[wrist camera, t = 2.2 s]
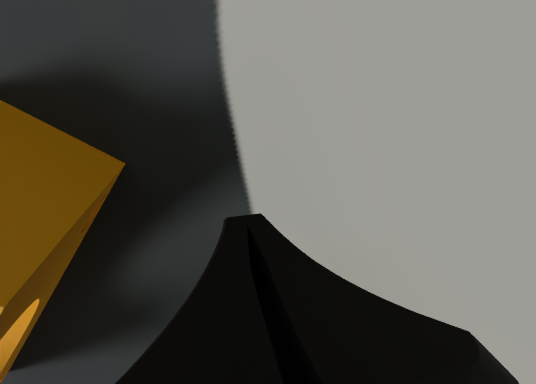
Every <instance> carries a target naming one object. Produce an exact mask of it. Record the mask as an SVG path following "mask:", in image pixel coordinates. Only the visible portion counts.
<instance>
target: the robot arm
mask: <svg viewBox="0 0 536 384" xmlns="http://www.w3.org/2000/svg"><path fill="white" fill-rule="evenodd" d="M115 384H519V383H518V381H517V380H516V379H515V378H514V377H513V376H512V375H511V374H510V373H509V371H508V370H507V369H506V368H505V367H504V366H503V365H502V364H501V363H500V362H499V361H498V360H497V359H496V358H495V357H494V356H493V355H492V354H491V353H490V352H489V351H488V350H487V349H486V348H485V347H484V346H483V345H482V344H481V343H480V342H479V341H478V340H477V339H476V338H475V337H474V336H473V335H472V334H471V333H470V332H469V331H466V330H463V329H460V328H458V327H455V326H452V325H449V324H446V323H444V322H441V321H438V320H435V319H433V318H430V317H427V316H424V315H421V314H418V313H416V312H413V311H411V310H408V309H406V308H403V307H401V306H399V305H397V304H394V303H392V302H390V301H387V300H385V299H383V298H381V297H379V296H376V295H374V294H372V293H370V292H368V291H366V290H364V289H362V288H360V287H358V286H356V285H354V284H352V283H350V282H348V281H347V280H345V279H343V278H341V277H340V276H338V275H336V274H335V273H333V272H331V271H330V270H328V269H326V268H325V267H323V266H322V265H320V264H319V263H317V262H315V261H314V260H313V259H311V258H310V257H309V256H307V255H306V254H305V253H303V252H302V251H301V250H300V249H298V248H297V247H296V246H295V245H293V244H292V243H291V242H290V241H289V240H288V239H287V238H285V237H284V236H283V235H282V234H281V233H280V232H279V231H278V230H277V229H276V228H275V227H274V226H273V225H272V224H271V223H270V222H269V221H268V220H267V219H266V218H265V217H264V216H263V215H262V214H252V215H244V216H236V217H228V218H226V219H225V220H224V225H223V229H222V232H221V235H220V238H219V241H218V243H217V246H216V248H215V251H214V253H213V255H212V257H211V259H210V261H209V263H208V265H207V267H206V269H205V271H204V273H203V274H202V276H201V278H200V279H199V281H198V283H197V284H196V286H195V288H194V289H193V291H192V292H191V294H190V295H189V297H188V298H187V300H186V301H185V302H184V304H183V305H182V307H181V308H180V309H179V311H178V312H177V313H176V315H175V316H174V318H173V319H172V320H171V321H170V323H169V324H168V325H167V326H166V328H165V329H164V330H163V331H162V332H161V334H160V335H159V336H158V337H157V338H156V339H155V341H154V342H153V343H152V344H151V345H150V346H149V347H148V349H147V350H146V351H145V352H144V353H143V354H142V355H141V357H140V358H139V359H138V360H137V361H136V362H135V363H134V364H133V366H132V367H131V368H130V369H129V370H128V371H127V372H126V373H125V374H124V375H123V376H122V377H121V378H120V379H119V380H118V381H117V382H116V383H115Z"/></svg>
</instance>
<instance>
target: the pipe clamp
mask: <svg viewBox="0 0 536 384" xmlns="http://www.w3.org/2000/svg"><path fill="white" fill-rule="evenodd" d="M125 164H126V163H124V162H122V161H120V160H118V159H116V158H114V157H112V156H110V155H108V154H106V153H104V152H102V151H100V150H98V149H96V148H94V147H92V146H90V145H88V144H86V143H84V142H82V141H80V140H78V139H76V138H74V137H72V136H70V135H68V134H66V133H65V132H63V131H61V130H59V129H57V128H55V127H53V126H51V125H49V124H47V123H45V122H43V121H41V120H39V119H37V118H35V117H33V116H31V115H29V114H27V113H25V112H23V111H21V110H19V109H17V108H15V107H13V106H11V105H9V104H7V103H5V102H3V101H1V100H0V384H1V382H2V381H3V379H4V378H5V376H6V374H7V373H8V371H9V370H10V368H11V366H12V364H13V362H14V361H15V359H16V357H17V355H18V354H19V352H20V350H21V348H22V346H23V345H24V343H25V341H26V339H27V338H28V336H29V334H30V332H31V330H32V329H33V327H34V325H35V323H36V322H37V320H38V318H39V316H40V315H41V313H42V311H43V309H44V307H45V306H46V304H47V302H48V300H49V299H50V297H51V295H52V293H53V291H54V290H55V288H56V286H57V284H58V283H59V281H60V279H61V277H62V275H63V274H64V272H65V270H66V268H67V267H68V265H69V263H70V261H71V259H72V258H73V256H74V254H75V252H76V251H77V249H78V247H79V245H80V243H81V242H82V240H83V238H84V236H85V235H86V233H87V231H88V229H89V227H90V226H91V224H92V222H93V220H94V219H95V217H96V215H97V213H98V211H99V210H100V208H101V206H102V204H103V203H104V201H105V199H106V197H107V196H108V194H109V192H110V190H111V188H112V187H113V185H114V183H115V181H116V180H117V178H118V176H119V174H120V172H121V171H122V169H123V167H124V165H125Z"/></svg>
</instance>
